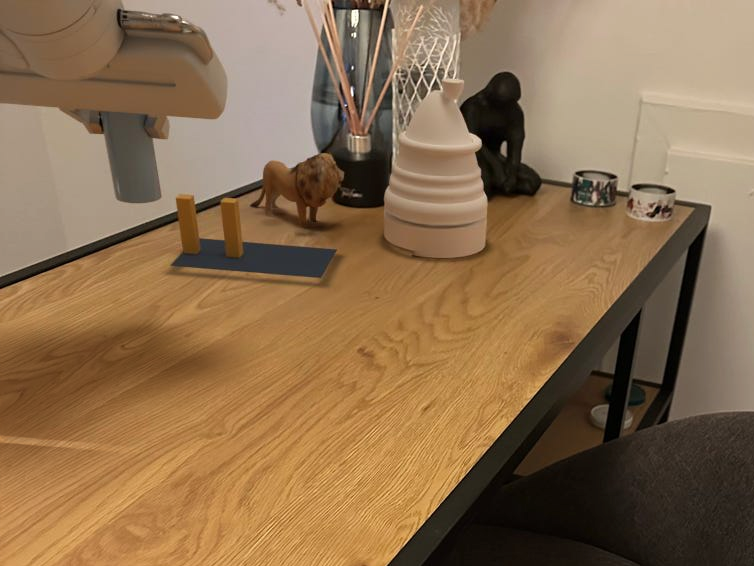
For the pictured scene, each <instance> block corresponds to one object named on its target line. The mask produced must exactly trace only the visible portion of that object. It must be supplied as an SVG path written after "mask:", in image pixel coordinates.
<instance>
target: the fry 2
mask: <svg viewBox="0 0 754 566" xmlns="http://www.w3.org/2000/svg"><path fill="white" fill-rule="evenodd" d="M219 203H220V211H221V213H220V214H221V219H222V221H221V222H222V229H223V238H224V239H223V240H225V249H226V256H227V257H236V258H240V257H241V256H242V255H243V245H242V242H243V235H242V227H241V215H240V206H239V199H238V198H234V197H233V198H232V197H223V198H222V199H221V200H220V202H219Z"/></svg>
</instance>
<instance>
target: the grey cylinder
mask: <svg viewBox="0 0 754 566" xmlns="http://www.w3.org/2000/svg"><path fill="white" fill-rule="evenodd" d="M100 115H101V121H102V126H103V132H104V134H103V137H104V143H105V147H106V154H107V159H108V165H109V171H110V175H111V181H112V187H113V192H114V198H115V199H116V200H117V201H119V202H122V203H126V204H127V203H128V204H149V203H153V202H157V201H159V200H161V199H162V190H161V183H160V182H161V181H160V177H159V170H158V163H157V157H156V150H155V149H156V148H155V143H154V138H150V137H149V133H147V132H146V130H145V128H144V125H145V120H146V119H147V117H146V114H135V113H122V112H109V111H100Z"/></svg>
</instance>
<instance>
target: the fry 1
mask: <svg viewBox="0 0 754 566" xmlns="http://www.w3.org/2000/svg"><path fill="white" fill-rule="evenodd" d="M175 205H176V211H177V219H178V226H179V232H180V239H181V246H182V252H183V253H187V254H198V252H199V251H200V250H201V248H200V240H199V238H200V231H199V225H198V224H199V223H198V217H197V209H196V201H195V195H194V194H183V193H180V194H178V195H177V196H176V197H175Z"/></svg>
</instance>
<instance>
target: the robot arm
mask: <svg viewBox="0 0 754 566" xmlns="http://www.w3.org/2000/svg"><path fill="white" fill-rule="evenodd" d="M228 82H229V81H228V76H227V73H226V70H225V68H224V66H223V64H222V62H221V61H220V58H219V57H218V55H217V53H216V51H215V50H214V48H213V47H212V44H211V42H210V39H209V37H208V35H207V32H206V31H205V29H203V27H201V26H199V25H195V23H193V22H192V21H190V20H188V19H187V18H183V17H182V16H180V15H178V14H175V13H167V12H164V13H162V14H160V13H152V12H147V11H140V10H139V11H138V10H129V9H128V10H127V9H125V6H124V4H123V1H122V0H0V104H6V105H7V104H8V105H20V106H31V107H46V108H58V109H59V111H60V112H62V113H63V114H65V115H66V116H68V117H71V118H72V119H74V120H75V121H77V122H78V123H81V124H82V125H83V126H84V127H85V129H86V130H87V132H88V134H90V135H104V132H103V126H102V121H101V115H100V111H109V112H122V113H135V114H146V117H147V119H146V120H145V125H144V128H145V130H146V132H147V133H149V137H150V138H153V139H156V140H168V139H169V136H170V127H171V126H170V119H169V118H168V117H175V118H187V119H188V118H189V119H202V120H218V118H220V117H221V115H222V114H223V113H224V111H225V109H226V104H227V96H228V85H229V83H228Z"/></svg>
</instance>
